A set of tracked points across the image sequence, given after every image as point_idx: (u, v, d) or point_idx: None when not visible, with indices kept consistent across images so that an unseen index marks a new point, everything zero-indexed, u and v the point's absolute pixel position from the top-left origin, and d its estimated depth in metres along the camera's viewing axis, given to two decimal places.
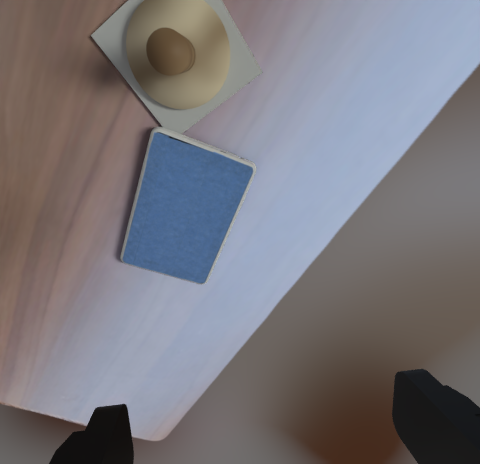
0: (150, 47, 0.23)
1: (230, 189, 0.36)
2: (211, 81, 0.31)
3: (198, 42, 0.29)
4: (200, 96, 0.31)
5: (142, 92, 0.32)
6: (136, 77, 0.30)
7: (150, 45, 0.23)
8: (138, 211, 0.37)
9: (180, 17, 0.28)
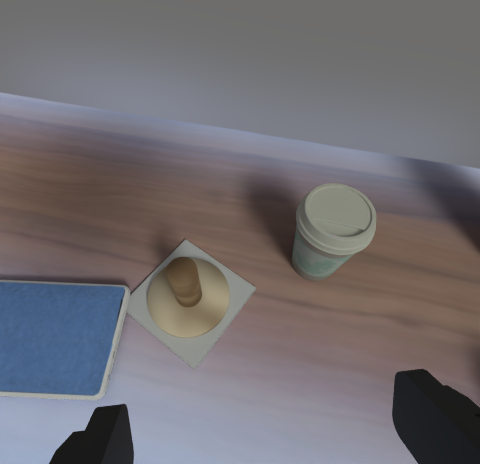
0: (182, 259, 0.32)
1: (70, 376, 0.32)
2: (175, 324, 0.35)
3: (201, 306, 0.36)
4: (161, 318, 0.35)
5: (155, 275, 0.39)
6: (165, 268, 0.39)
7: (183, 259, 0.32)
8: (41, 287, 0.37)
9: (213, 290, 0.37)
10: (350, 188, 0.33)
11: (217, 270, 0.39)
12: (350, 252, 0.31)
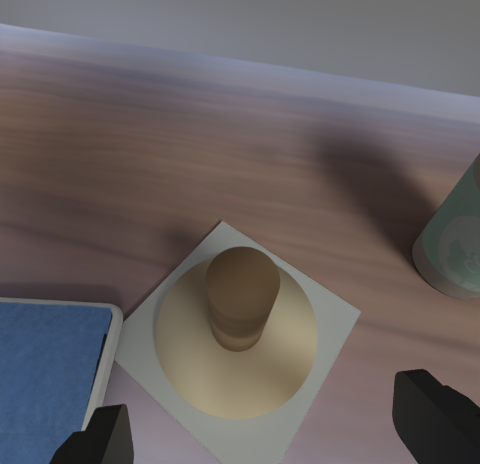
0: (241, 252, 0.14)
1: None
2: (214, 390, 0.17)
3: (263, 350, 0.18)
4: (184, 376, 0.17)
5: (170, 284, 0.21)
6: (189, 271, 0.21)
7: (243, 252, 0.14)
8: None
9: (283, 316, 0.19)
10: None
11: (287, 277, 0.21)
12: None
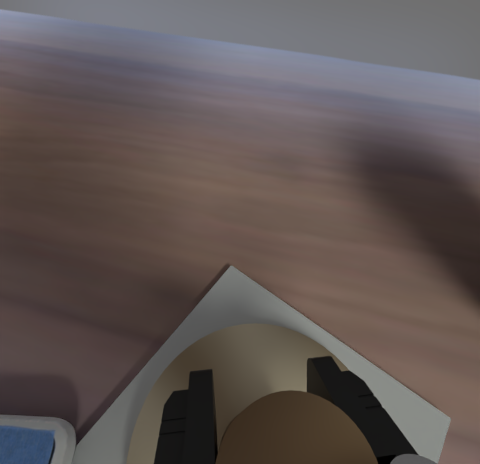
0: (289, 408, 0.06)
1: None
2: None
3: None
4: None
5: (153, 374, 0.13)
6: (182, 355, 0.13)
7: (294, 406, 0.06)
8: None
9: None
10: None
11: None
12: None
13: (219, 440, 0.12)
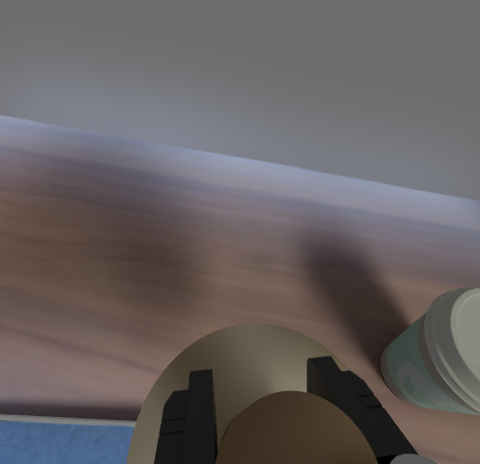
0: (289, 409, 0.06)
1: None
2: None
3: None
4: None
5: None
6: (182, 356, 0.13)
7: (294, 406, 0.06)
8: (16, 428, 0.24)
9: None
10: None
11: None
12: None
13: (219, 440, 0.12)
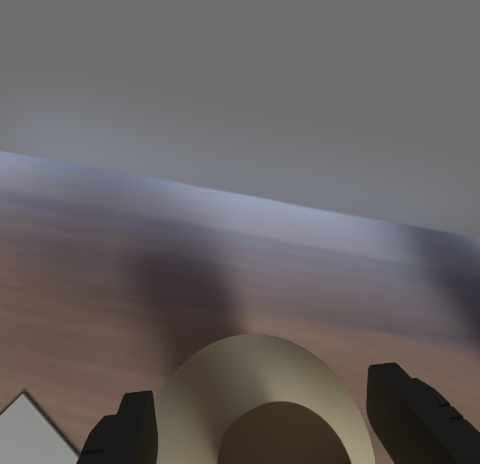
0: (278, 416, 0.07)
1: None
2: None
3: None
4: None
5: None
6: (185, 364, 0.14)
7: (282, 414, 0.07)
8: None
9: None
10: None
11: (325, 371, 0.15)
12: None
13: (219, 442, 0.13)
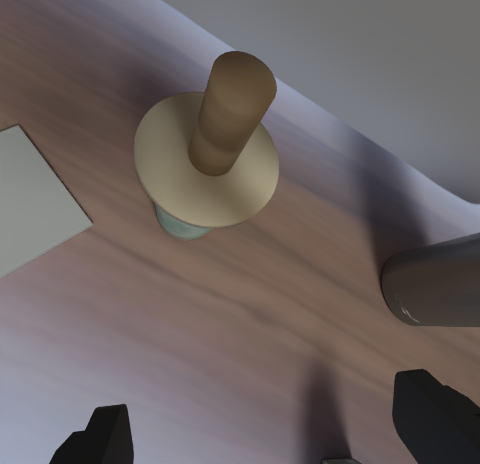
0: (249, 59, 0.14)
1: None
2: (178, 195, 0.19)
3: (228, 181, 0.20)
4: (154, 176, 0.19)
5: None
6: (179, 95, 0.21)
7: (251, 59, 0.15)
8: None
9: (252, 163, 0.21)
10: None
11: (266, 135, 0.22)
12: None
13: (191, 140, 0.20)
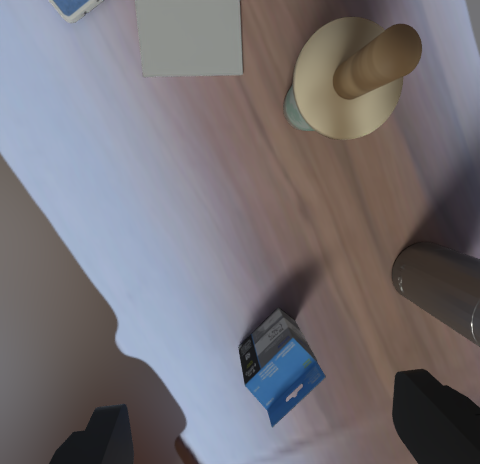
0: (413, 37, 0.20)
1: None
2: (309, 95, 0.27)
3: (346, 106, 0.27)
4: (304, 73, 0.26)
5: None
6: (361, 19, 0.26)
7: (415, 38, 0.20)
8: None
9: (372, 104, 0.27)
10: None
11: (398, 88, 0.27)
12: None
13: (344, 61, 0.26)
